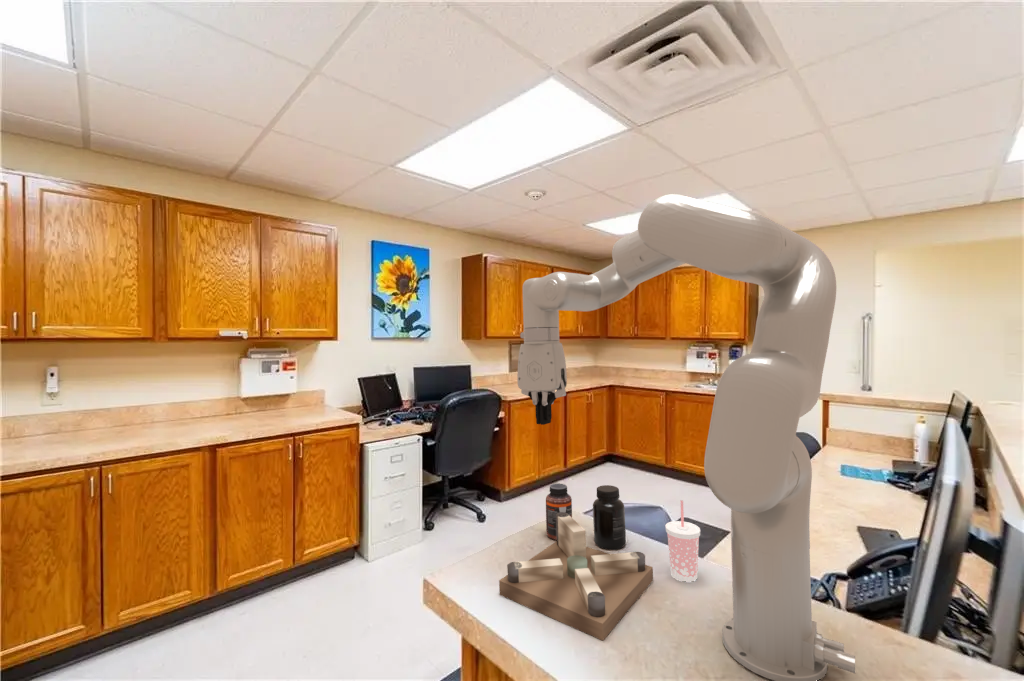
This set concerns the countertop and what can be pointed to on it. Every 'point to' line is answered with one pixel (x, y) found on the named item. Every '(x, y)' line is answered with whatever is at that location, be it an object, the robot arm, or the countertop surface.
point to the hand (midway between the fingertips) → (543, 423)
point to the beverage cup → (683, 548)
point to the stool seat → (579, 586)
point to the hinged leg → (570, 535)
